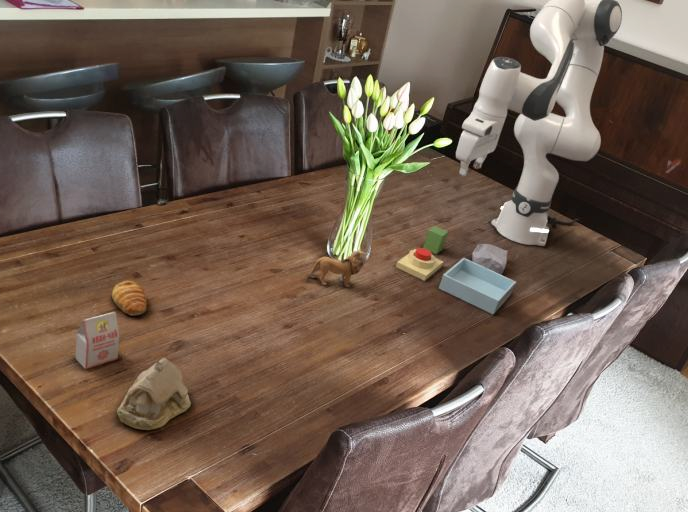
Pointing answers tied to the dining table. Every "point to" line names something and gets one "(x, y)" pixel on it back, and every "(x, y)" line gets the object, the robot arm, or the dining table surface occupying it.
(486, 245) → the stone block
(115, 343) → the tea bag
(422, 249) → the button
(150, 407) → the ceramic model
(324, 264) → the lion figurine
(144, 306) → the pastry
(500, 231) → the robot arm
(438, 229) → the green block
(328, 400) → the dining table surface
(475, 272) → the basin
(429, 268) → the button housing
